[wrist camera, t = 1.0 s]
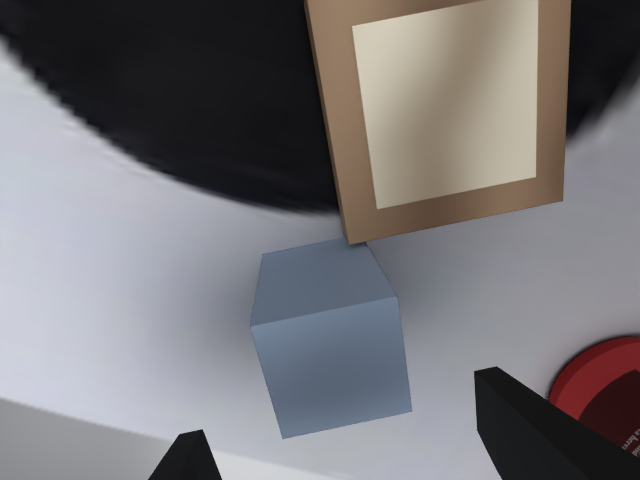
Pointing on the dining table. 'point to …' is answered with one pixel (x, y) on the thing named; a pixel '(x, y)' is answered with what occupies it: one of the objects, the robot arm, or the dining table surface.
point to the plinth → (441, 108)
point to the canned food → (604, 391)
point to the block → (329, 337)
